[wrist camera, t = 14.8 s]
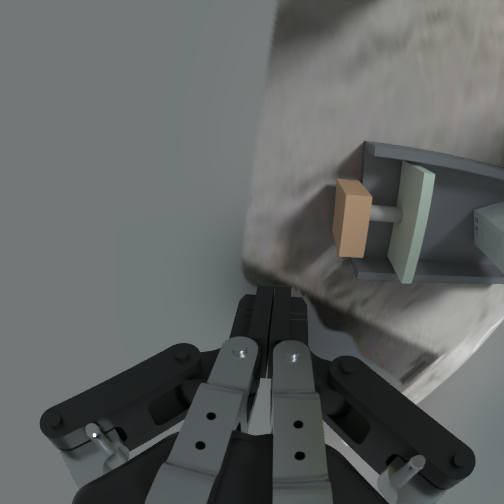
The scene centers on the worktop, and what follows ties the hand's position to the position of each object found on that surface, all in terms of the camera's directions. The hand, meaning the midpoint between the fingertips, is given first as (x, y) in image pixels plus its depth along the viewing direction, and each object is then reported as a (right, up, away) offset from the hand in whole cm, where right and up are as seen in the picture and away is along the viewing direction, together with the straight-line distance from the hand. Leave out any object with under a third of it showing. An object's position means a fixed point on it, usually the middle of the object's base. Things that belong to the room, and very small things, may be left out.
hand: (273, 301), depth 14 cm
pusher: (+10, +6, +12) cm, 17 cm away
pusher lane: (+20, +6, +12) cm, 24 cm away
